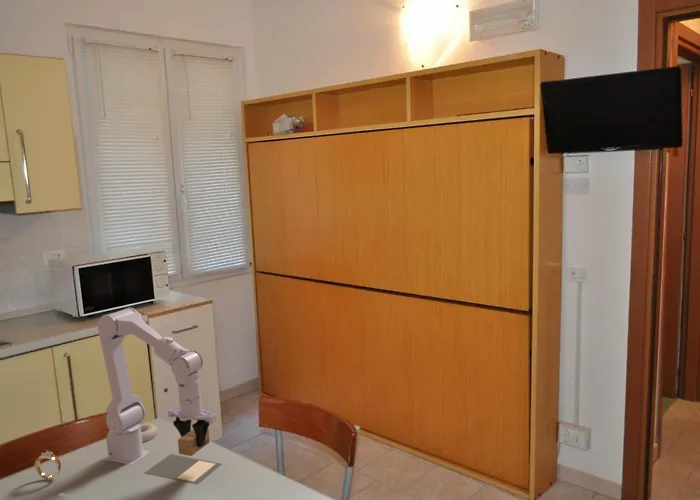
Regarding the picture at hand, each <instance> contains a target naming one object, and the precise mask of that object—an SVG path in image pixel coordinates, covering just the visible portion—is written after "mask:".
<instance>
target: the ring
mask: <svg viewBox="0 0 700 500" xmlns="http://www.w3.org/2000/svg"><path fill="white" fill-rule="evenodd" d="M44 459H48V460H51V462H53V463H54V465H55V468H56V469H55V470H56V471H55V474H54V475H51V474H50V475H48V474H46V473H44V472H43V470H42V469H41V465H40V464H41V461H42V460H44ZM61 466H62V465H61V461H60V459H59V457H58V456H57V455H56V454H54V452H53V451H48V450H47V449H46V452H41V455H39V457H38V458H37V459H36V460H35V462H34V468H35V470H36V472H37V474H38V475H39V476H40V477H41V478H43V479H45V480H47V481H50V480H53V479H55V478H57V477H58V475H59V474H60V472H61V470H62V467H61Z"/></svg>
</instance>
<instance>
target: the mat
mask: <svg viewBox="0 0 700 500" xmlns="http://www.w3.org/2000/svg"><path fill="white" fill-rule="evenodd" d="M221 465H223V464H222V463H220V462H219V463H218V462H215V461H210V460H204V459H197V458H193V457H188V456H185V455H183V456H182V455H178V454H177V455H176V454H173V453H170V454H169V455H167V456H165V457H164V458H163V459H162V460H160V461H158V462H157V463H156V464H154V465H153V466H152V467H150V468H149V469H147V470H146V471H145V472H144V474H146V475H151V476H155V477H161V478H165V479H170V480H176V481H178V482H184V483H189V484H193V485H199V484H200V483H202V482H203V480H205V479H207V477H209V476H210V475H211V474H212V473H213V472H214V471H216V470H217V469H218V468H219V467H220V466H221Z"/></svg>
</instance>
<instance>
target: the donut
mask: <svg viewBox="0 0 700 500" xmlns="http://www.w3.org/2000/svg"><path fill="white" fill-rule="evenodd" d="M141 435H142V443H145V442H148V441H150V440H152V439H154V438H155V437H156V436H157V435H158V427H157V426H156V425H155V424H153V423H147V422H146V423H142V425H141Z"/></svg>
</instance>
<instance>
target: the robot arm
mask: <svg viewBox="0 0 700 500" xmlns="http://www.w3.org/2000/svg"><path fill="white" fill-rule="evenodd" d="M96 326H97V331H98V336H99V340H100V345H101V349H102V355H103V359H104V363H105V365H104V366H105V368H106V372H107V378H108V382H109V387H110V388H109V389H110V393H111V397H112V398H111V401H110V402H109V404H108V405H107V407H106V409H105V412H106V418H105V419H106V420H105V422H106V426H107V429H108V430H109V431H108V432H107V435H106V446H107V447H106V448H107V455H108V457H107V458H106V461H107V462H109V461H112V462H116V463H121V464H125V465H133V464H134V463H135V462H138V460H140V459H141V458H143V457H145V456H146V455H148V454H149V453H151V452H150V450H146V449H144V447H143V442H142V435H141V425H142V424H143V421H144V420H145V418H146V415H147V413H146V408H145V406H144V405H143V403H142V400H141V397H140V396H138V395H135V394H134V393H133V390H132V386H131V379H130V375H129V370H128V365H127V361H126V356H125V352H124V351H125V350H124V347H123V341H124V340H125V338H126V337H127V336H128V335H133V336H135V337H136V338H138V339H139V340H141V341H142V342H144V343H146V344H147V345H149V346H150V347H152V348H153V353H154V355H155V356H157V357H158V358H159V359H160V360H162V361H163V362H164V363H166V364H168V366H170V369H171V372H172V374H173V376H174V378H175V382H176V384H177V391H178V399H179V407H171V408H169V409H168V410H167V417H168V418H173V417H174V418H175V420H174V421H173V422H172V424H173V426H174V427H175V429H176V430H177V431H178V433H179V435H180V438H181V437H183V436H184V435H185V434H187V433H188V432H190V431H191V430H193V429H194V431H195V434H196V440H197V445H198V447H201V446H203V445H204V443H205V437H206V433H207V429H209V426H210V425H212V424H214V423H216V422H217V414H216V413H212V412H210V411H207V410H205V409H203V403H202V393H201V378H200V377H201V376H200V370H201V369H203V368H202V367H203V365H204V361H203V357H202V355H201V354H200V353H199V352H198V351H197V350H195V349H191V350H190V349H186V348H185V347H183V346H182V345H181V344H179V343H178V342H176V341H175V340H174V338H173V337H172V336H164V337H162V335H160V334H159V333H158V332H156V331H155V329H153V327H151V326H150V325H149V324H147V323H146V322H145V321H144V320H143V317H142V314H141V312H138V311H137V310H136V309H135V308H133V307H127V308H124V309H122V310H118V311H116V312H112V313H111V312H110V313H108V314H104V315H101V317H100V318H99V320H98V322H96ZM192 420H194V421H196V422H195V423H192ZM192 428H193V429H192Z"/></svg>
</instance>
